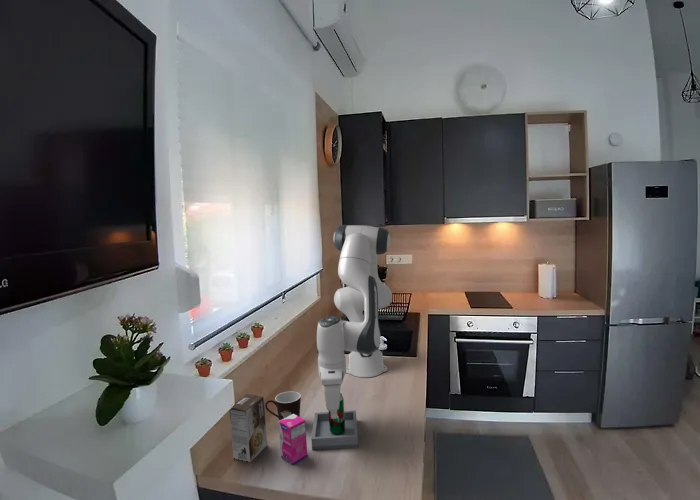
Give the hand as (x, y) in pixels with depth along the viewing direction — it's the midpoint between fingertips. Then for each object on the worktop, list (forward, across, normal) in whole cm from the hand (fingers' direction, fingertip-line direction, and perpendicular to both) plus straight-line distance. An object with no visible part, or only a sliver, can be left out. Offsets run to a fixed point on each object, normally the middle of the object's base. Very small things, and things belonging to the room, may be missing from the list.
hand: (334, 410), depth 128 cm
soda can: (+7, 0, +1) cm, 7 cm away
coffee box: (+8, +7, -26) cm, 28 cm away
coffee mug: (+8, -8, -17) cm, 21 cm away
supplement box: (+8, +11, -12) cm, 18 cm away
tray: (+8, 0, 0) cm, 8 cm away
